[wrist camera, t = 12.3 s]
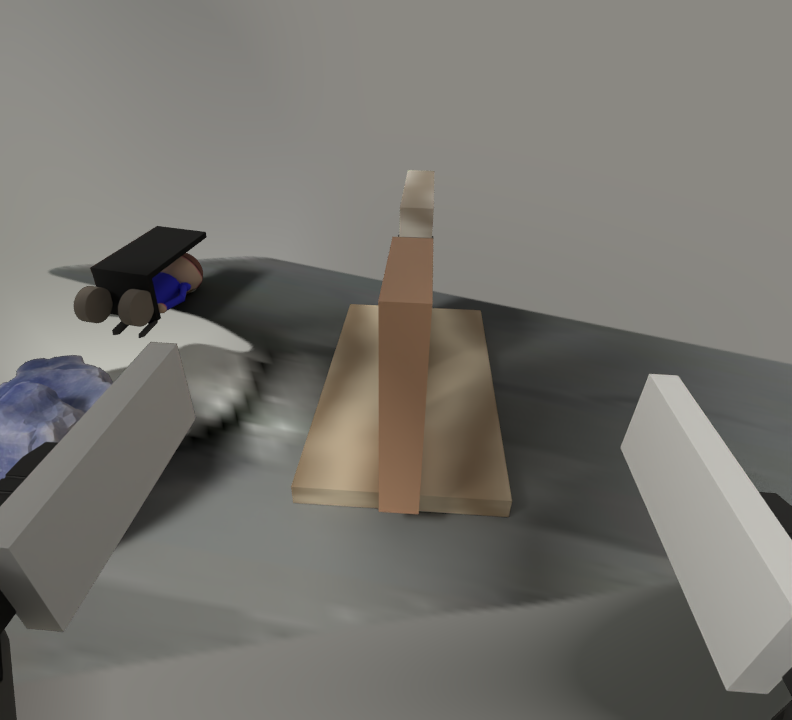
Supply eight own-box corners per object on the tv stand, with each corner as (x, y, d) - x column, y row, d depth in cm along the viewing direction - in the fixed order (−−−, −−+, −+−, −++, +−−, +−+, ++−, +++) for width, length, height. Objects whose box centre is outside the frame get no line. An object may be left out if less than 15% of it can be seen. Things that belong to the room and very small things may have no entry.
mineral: (64, 438, 24) (-173, 438, 23) (102, 579, 28) (-96, 584, 27) (163, 323, 37) (16, 319, 36) (179, 431, 41) (48, 430, 40)
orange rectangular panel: (378, 511, 30) (378, 301, 22) (389, 419, 37) (392, 236, 29) (418, 514, 30) (432, 303, 22) (422, 421, 37) (433, 238, 29)
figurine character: (154, 361, 49) (221, 283, 60) (126, 295, 44) (206, 223, 56) (92, 354, 50) (170, 278, 61) (58, 288, 45) (150, 219, 56)
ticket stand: (293, 502, 32) (262, 285, 24) (350, 316, 54) (345, 168, 46) (508, 517, 32) (555, 298, 23) (479, 322, 54) (497, 173, 45)
